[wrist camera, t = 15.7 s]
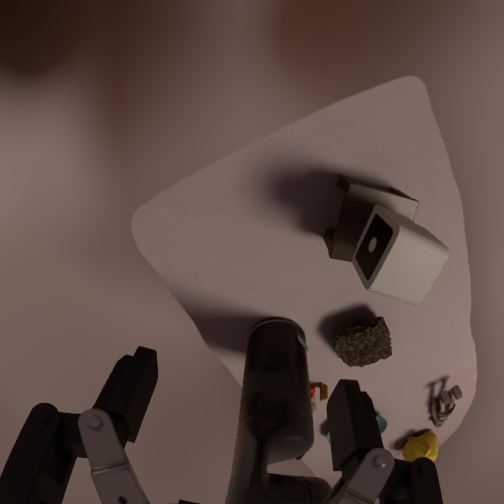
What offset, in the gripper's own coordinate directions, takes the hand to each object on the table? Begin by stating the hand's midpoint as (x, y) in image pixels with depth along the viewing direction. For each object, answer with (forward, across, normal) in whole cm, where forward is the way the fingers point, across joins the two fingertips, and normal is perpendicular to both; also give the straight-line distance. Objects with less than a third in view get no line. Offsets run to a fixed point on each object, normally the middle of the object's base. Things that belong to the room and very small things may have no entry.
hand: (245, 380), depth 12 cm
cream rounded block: (+22, -14, -1) cm, 26 cm away
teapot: (+28, -58, +59) cm, 87 cm away
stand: (+28, -13, -1) cm, 31 cm away
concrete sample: (+28, -20, +19) cm, 40 cm away
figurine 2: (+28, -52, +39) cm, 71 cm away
